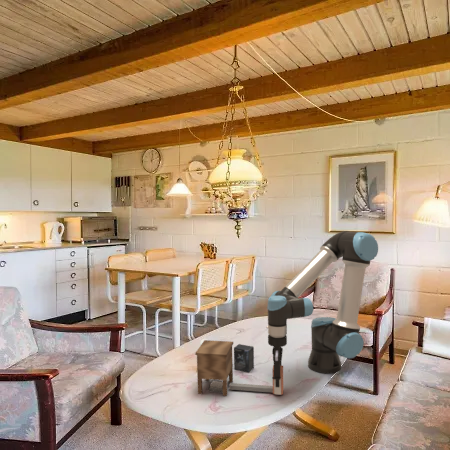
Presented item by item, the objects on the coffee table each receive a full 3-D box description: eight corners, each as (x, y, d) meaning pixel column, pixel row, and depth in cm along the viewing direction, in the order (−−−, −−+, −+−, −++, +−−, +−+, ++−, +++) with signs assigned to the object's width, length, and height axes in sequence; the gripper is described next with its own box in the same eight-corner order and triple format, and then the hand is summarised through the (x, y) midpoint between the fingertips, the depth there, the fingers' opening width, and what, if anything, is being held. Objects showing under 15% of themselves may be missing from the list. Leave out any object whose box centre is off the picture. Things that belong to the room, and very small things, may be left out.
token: (226, 386, 167) (226, 382, 167) (223, 393, 161) (223, 388, 161) (212, 385, 168) (212, 381, 168) (209, 392, 162) (208, 387, 162)
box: (233, 369, 183) (233, 347, 182) (239, 365, 188) (239, 343, 187) (249, 372, 179) (248, 350, 178) (254, 368, 184) (253, 346, 183)
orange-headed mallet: (283, 389, 161) (283, 365, 160) (282, 394, 157) (282, 370, 156) (231, 385, 165) (230, 362, 165) (229, 390, 161) (228, 366, 160)
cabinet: (234, 380, 172) (233, 341, 171) (227, 396, 157) (226, 354, 156) (205, 378, 174) (204, 340, 173) (196, 394, 160) (195, 352, 159)
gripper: (269, 327, 167) (270, 380, 169) (266, 341, 150) (266, 400, 151) (287, 328, 166) (288, 381, 167) (285, 342, 149) (286, 402, 150)
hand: (278, 390), depth 159 cm, fingers closed on orange-headed mallet, 4 cm apart
